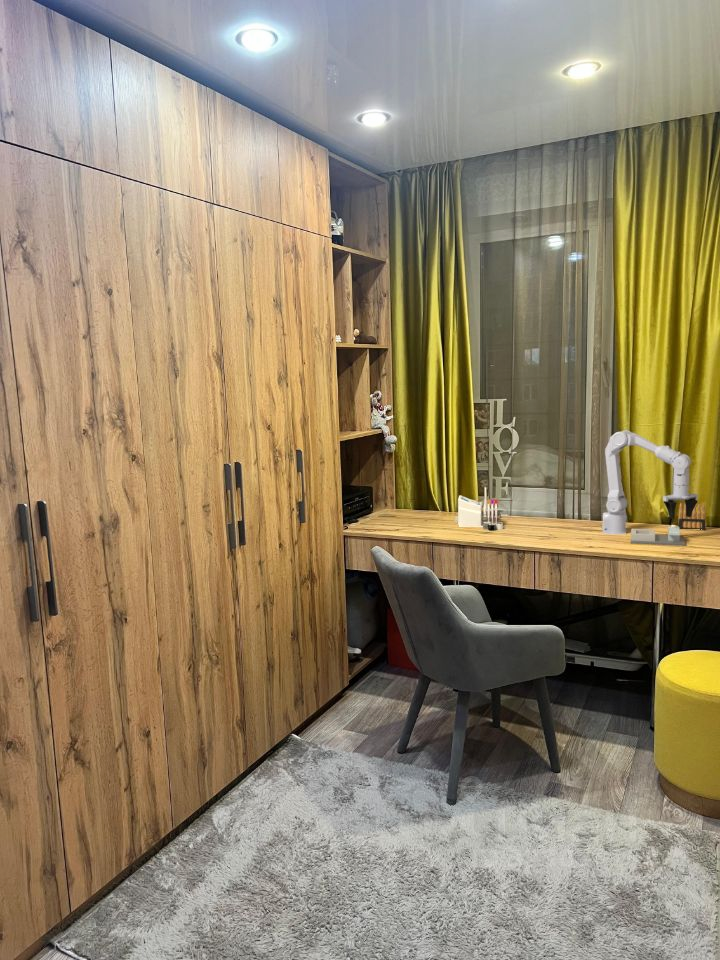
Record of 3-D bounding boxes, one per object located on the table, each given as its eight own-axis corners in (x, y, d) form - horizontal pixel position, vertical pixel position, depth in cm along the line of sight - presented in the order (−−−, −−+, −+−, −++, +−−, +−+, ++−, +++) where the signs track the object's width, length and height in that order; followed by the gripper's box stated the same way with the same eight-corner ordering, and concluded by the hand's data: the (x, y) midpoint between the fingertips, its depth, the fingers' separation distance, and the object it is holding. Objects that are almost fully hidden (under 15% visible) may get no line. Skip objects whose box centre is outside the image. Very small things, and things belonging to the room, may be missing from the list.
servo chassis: (630, 544, 277) (630, 535, 276) (631, 535, 291) (631, 527, 291) (685, 546, 269) (685, 538, 269) (683, 537, 284) (683, 529, 283)
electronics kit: (509, 533, 307) (509, 497, 305) (451, 533, 312) (451, 498, 310) (507, 513, 351) (507, 482, 349) (456, 513, 356) (456, 483, 353)
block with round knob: (668, 541, 274) (668, 528, 273) (667, 536, 283) (668, 523, 283) (679, 542, 272) (679, 529, 272) (678, 536, 282) (678, 523, 281)
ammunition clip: (678, 530, 298) (678, 502, 296) (677, 529, 300) (678, 502, 298) (705, 531, 294) (706, 503, 292) (705, 530, 296) (706, 502, 294)
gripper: (671, 487, 273) (670, 520, 275) (703, 484, 276) (702, 518, 278) (660, 484, 280) (659, 517, 282) (692, 482, 283) (691, 514, 285)
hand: (680, 517), depth 280 cm, fingers open, 7 cm apart
